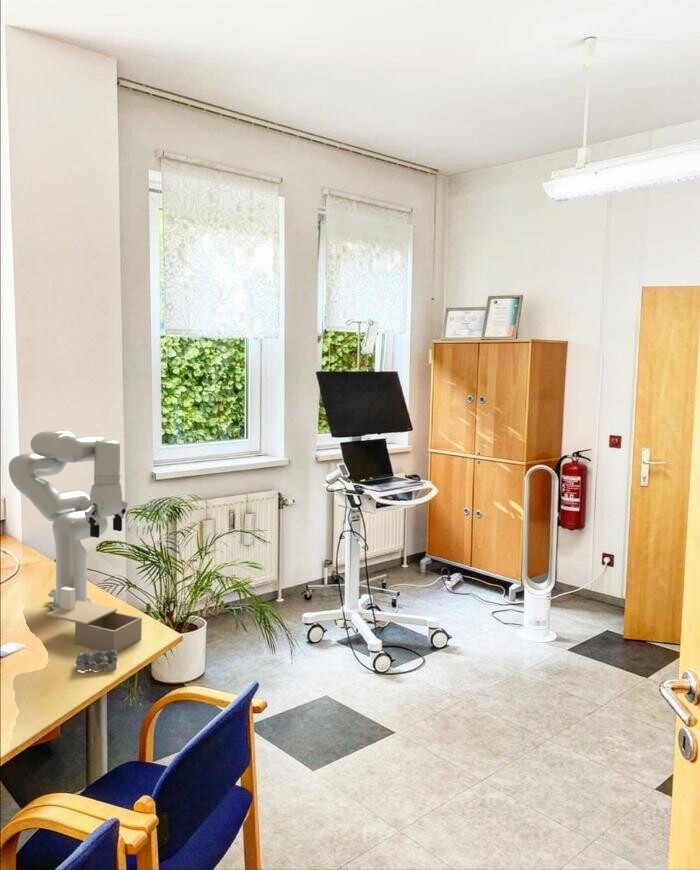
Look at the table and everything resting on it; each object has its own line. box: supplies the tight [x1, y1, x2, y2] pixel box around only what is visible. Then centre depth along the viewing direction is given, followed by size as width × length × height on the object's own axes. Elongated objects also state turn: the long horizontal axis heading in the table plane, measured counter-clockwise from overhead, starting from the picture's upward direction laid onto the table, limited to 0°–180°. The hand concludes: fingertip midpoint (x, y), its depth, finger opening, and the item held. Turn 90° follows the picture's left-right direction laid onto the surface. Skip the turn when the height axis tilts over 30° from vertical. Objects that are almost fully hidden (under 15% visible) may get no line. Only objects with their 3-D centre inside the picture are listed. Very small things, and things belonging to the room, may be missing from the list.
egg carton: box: [75, 649, 118, 672], centre depth 192 cm, size 11×8×4 cm
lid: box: [45, 587, 118, 625], centre depth 211 cm, size 15×13×7 cm
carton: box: [74, 611, 143, 653], centre depth 208 cm, size 14×12×7 cm
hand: (106, 533), depth 222 cm, fingers open, 9 cm apart
